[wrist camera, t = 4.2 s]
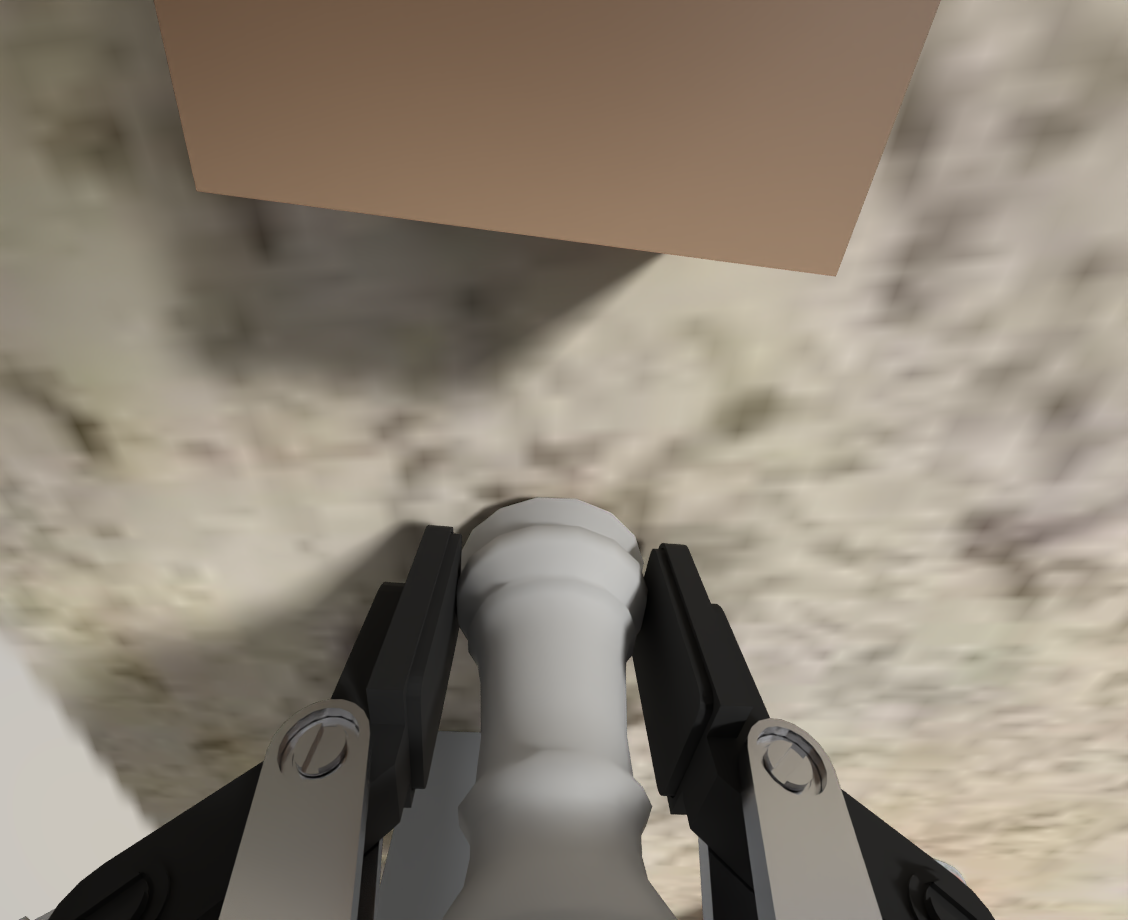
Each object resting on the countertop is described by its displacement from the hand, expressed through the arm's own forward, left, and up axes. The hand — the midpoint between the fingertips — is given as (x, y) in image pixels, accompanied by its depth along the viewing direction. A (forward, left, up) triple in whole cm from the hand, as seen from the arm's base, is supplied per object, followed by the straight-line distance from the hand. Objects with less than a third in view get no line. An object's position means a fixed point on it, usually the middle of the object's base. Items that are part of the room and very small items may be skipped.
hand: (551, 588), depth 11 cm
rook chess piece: (0, 0, -1) cm, 1 cm away
